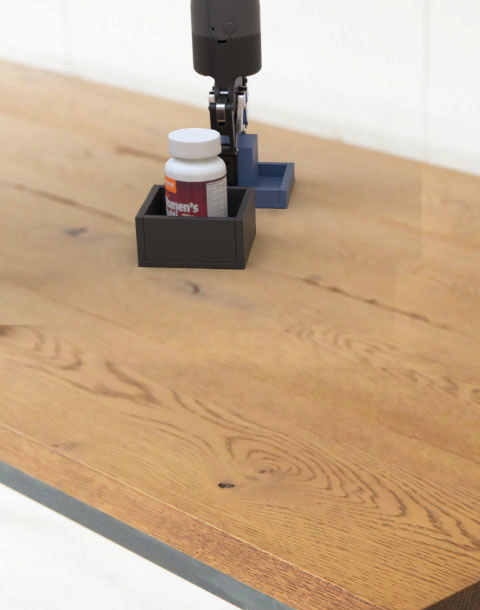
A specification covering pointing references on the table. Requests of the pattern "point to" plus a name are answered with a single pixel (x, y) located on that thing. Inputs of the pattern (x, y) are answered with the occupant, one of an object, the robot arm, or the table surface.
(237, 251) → the charcoal bin
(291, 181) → the blue tray
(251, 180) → the blue block
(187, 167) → the pill bottle
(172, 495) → the table surface
